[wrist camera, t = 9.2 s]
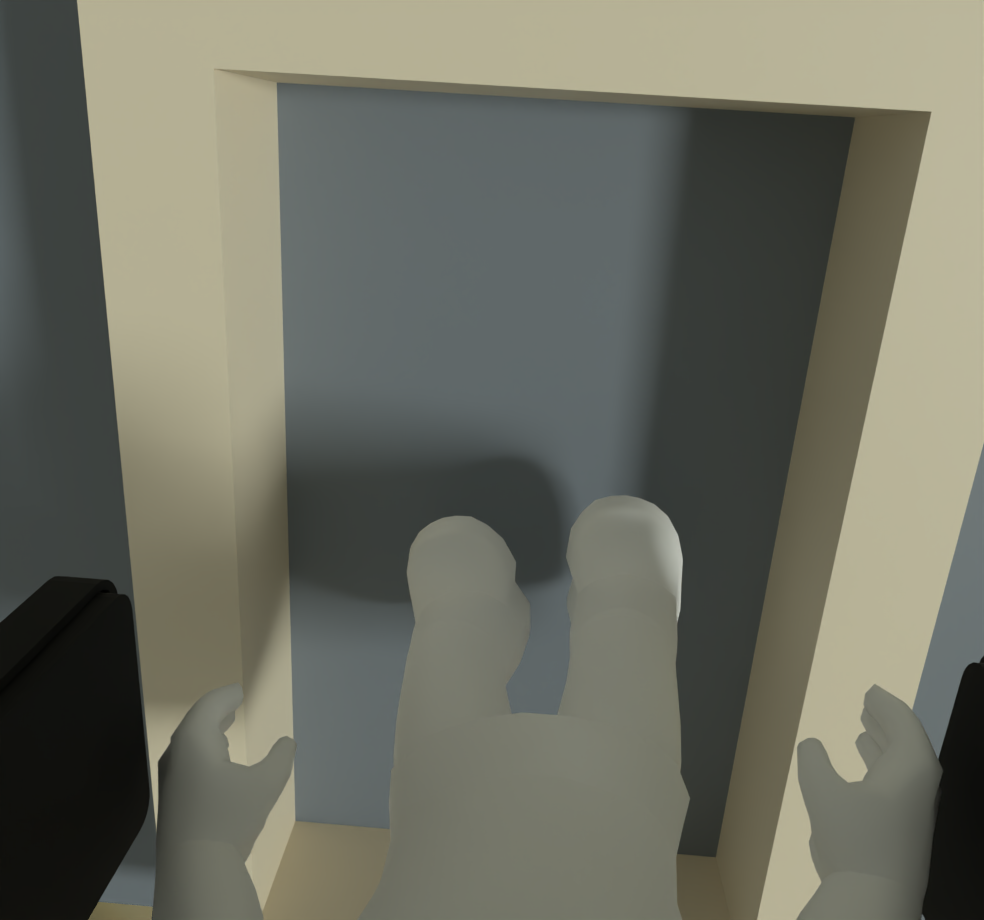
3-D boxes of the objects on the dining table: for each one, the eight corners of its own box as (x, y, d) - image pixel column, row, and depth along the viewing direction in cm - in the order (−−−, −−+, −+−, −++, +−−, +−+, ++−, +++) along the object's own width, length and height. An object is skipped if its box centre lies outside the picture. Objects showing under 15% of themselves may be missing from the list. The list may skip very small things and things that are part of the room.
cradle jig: (1358, -41, 12) (1716, -120, 9) (1017, 923, 18) (1137, 1122, 15) (-166, -123, 13) (-455, -230, 9) (-1, 834, 19) (-132, 1003, 15)
